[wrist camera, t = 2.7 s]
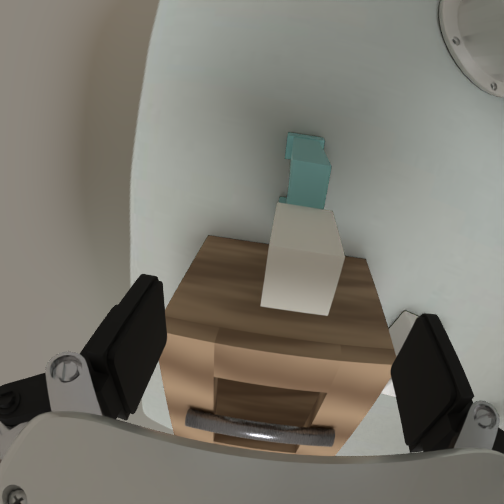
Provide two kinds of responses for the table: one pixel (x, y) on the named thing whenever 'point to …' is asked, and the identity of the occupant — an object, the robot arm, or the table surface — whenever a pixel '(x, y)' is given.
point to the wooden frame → (271, 350)
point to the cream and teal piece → (304, 235)
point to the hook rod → (259, 429)
